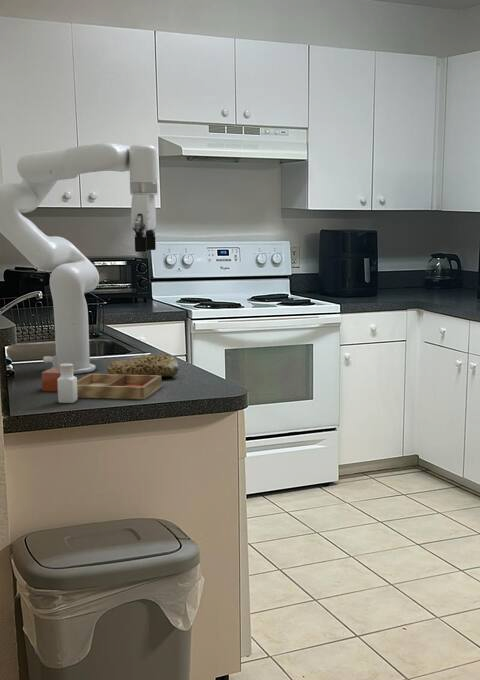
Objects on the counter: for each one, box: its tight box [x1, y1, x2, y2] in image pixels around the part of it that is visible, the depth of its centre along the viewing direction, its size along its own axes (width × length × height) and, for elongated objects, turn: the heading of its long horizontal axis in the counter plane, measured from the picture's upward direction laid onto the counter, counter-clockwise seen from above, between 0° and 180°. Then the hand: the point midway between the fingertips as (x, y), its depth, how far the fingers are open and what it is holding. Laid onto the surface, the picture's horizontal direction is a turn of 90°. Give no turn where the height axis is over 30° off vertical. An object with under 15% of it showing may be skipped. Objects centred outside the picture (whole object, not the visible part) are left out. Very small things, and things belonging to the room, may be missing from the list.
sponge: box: [107, 353, 180, 377], centre depth 254 cm, size 13×8×20 cm
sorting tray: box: [77, 373, 163, 400], centre depth 237 cm, size 20×16×3 cm
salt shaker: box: [57, 363, 79, 404], centre depth 225 cm, size 4×4×10 cm
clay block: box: [41, 368, 61, 392], centre depth 239 cm, size 5×5×5 cm
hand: (145, 250), depth 256 cm, fingers open, 9 cm apart
